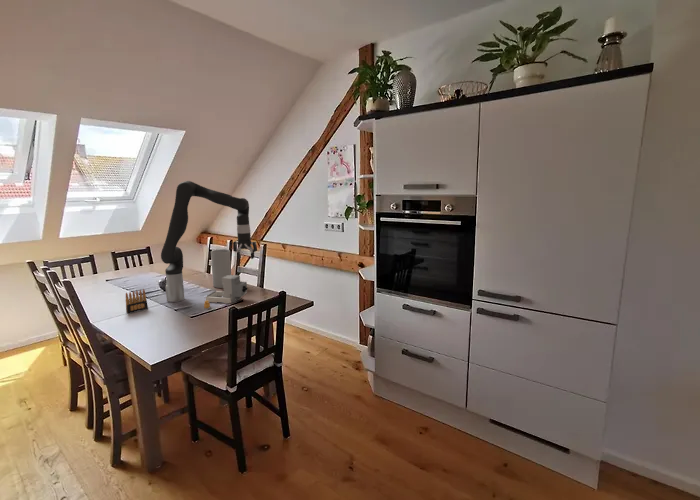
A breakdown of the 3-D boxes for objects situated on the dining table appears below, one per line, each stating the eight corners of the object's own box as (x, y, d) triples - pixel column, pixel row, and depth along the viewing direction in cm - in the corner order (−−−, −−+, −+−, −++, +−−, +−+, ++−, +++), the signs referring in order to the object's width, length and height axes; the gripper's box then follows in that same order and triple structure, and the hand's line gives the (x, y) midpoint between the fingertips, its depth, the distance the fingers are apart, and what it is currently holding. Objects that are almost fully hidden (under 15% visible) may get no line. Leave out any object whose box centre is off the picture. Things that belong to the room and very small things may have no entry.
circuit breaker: (244, 303, 218) (242, 279, 215) (222, 301, 221) (221, 277, 218) (249, 299, 225) (248, 276, 222) (229, 297, 228) (227, 274, 225)
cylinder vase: (228, 288, 247) (226, 253, 242) (210, 288, 247) (207, 252, 242) (234, 283, 259) (232, 249, 254) (217, 283, 259) (214, 249, 254)
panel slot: (206, 301, 220) (205, 295, 219) (216, 295, 232) (215, 290, 231) (230, 303, 217) (230, 297, 217) (239, 297, 229) (239, 291, 228)
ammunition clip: (127, 313, 200) (125, 293, 197) (126, 312, 201) (123, 292, 199) (148, 308, 208) (146, 288, 205) (146, 308, 209) (144, 288, 207)
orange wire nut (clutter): (203, 308, 209) (202, 301, 208) (206, 306, 212) (205, 300, 211) (208, 308, 209) (207, 302, 208) (211, 306, 212) (210, 300, 211)
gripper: (229, 232, 211) (231, 259, 214) (252, 232, 209) (254, 260, 212) (235, 231, 218) (237, 257, 221) (257, 231, 216) (259, 257, 219)
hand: (245, 258), depth 217 cm, fingers open, 8 cm apart
